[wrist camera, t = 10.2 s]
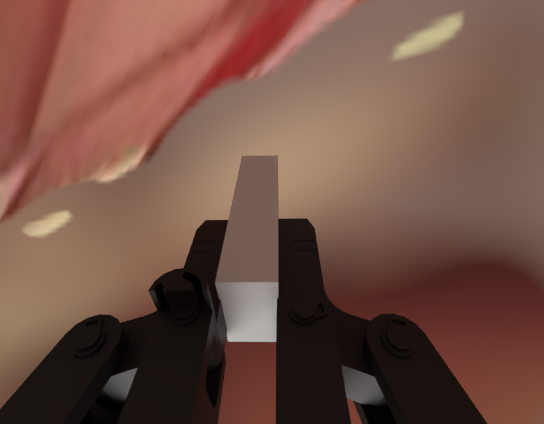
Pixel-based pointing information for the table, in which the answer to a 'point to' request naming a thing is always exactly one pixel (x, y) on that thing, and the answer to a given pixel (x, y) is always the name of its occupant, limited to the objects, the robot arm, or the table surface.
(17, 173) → the table surface
